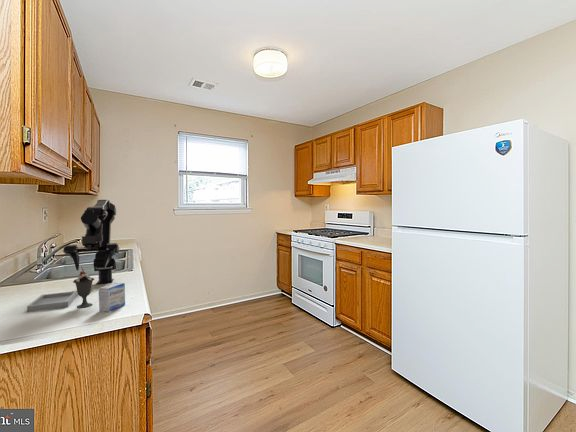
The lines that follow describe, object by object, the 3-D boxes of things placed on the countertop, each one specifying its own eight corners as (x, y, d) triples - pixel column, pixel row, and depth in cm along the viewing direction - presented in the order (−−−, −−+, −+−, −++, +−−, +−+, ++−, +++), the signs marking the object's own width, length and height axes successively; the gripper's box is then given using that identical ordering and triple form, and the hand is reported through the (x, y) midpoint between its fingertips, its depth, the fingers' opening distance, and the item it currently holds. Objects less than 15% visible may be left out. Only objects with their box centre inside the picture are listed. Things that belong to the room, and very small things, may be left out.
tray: (41, 299, 117) (41, 294, 117) (77, 295, 122) (77, 290, 122) (27, 311, 103) (26, 306, 103) (68, 306, 108) (67, 301, 108)
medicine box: (109, 312, 103) (108, 288, 102) (98, 311, 104) (98, 287, 103) (125, 304, 111) (125, 282, 110) (115, 304, 111) (115, 282, 111)
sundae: (82, 302, 113) (81, 265, 112) (99, 303, 112) (98, 265, 112) (69, 308, 106) (68, 269, 105) (86, 309, 106) (85, 269, 105)
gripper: (61, 227, 112) (56, 265, 106) (116, 225, 119) (114, 261, 113) (69, 237, 121) (65, 273, 115) (120, 235, 129) (118, 269, 122)
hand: (90, 269), depth 116 cm, fingers open, 9 cm apart
